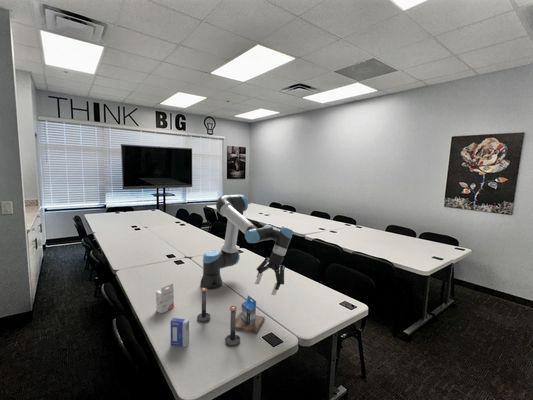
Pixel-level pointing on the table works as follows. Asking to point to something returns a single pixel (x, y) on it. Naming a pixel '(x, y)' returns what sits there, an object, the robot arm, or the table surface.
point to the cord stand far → (203, 308)
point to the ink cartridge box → (165, 299)
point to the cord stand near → (232, 329)
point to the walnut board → (245, 327)
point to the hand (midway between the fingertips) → (264, 289)
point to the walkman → (179, 332)
